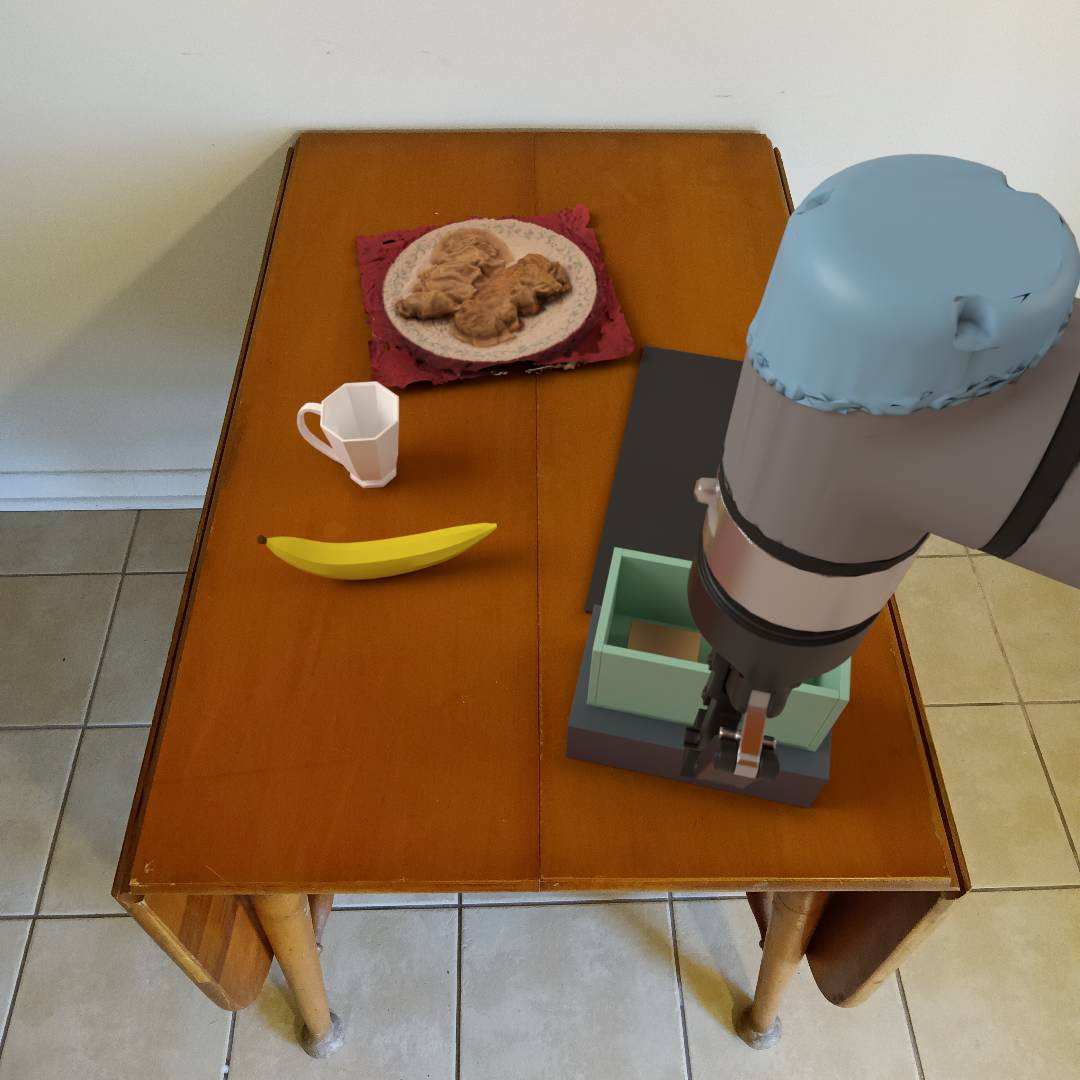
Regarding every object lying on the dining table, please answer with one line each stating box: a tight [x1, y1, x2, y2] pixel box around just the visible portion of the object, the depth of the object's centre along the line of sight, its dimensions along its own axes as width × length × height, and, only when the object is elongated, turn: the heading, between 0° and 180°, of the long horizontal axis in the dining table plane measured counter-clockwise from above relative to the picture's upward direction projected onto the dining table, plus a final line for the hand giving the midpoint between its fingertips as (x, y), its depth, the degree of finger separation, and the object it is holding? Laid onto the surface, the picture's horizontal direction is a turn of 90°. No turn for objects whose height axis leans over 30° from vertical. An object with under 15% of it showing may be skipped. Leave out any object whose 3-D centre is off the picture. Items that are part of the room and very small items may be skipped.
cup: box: [296, 381, 400, 489], centre depth 83 cm, size 7×10×8 cm
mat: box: [584, 345, 744, 614], centre depth 86 cm, size 14×31×1 cm, turn 168°
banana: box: [256, 522, 499, 581], centre depth 78 cm, size 3×19×6 cm, turn 97°
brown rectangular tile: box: [626, 620, 701, 663], centre depth 67 cm, size 5×4×2 cm
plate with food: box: [355, 203, 637, 389], centre depth 97 cm, size 24×26×3 cm
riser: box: [565, 604, 833, 809], centre depth 70 cm, size 18×10×6 cm, turn 77°
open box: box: [587, 547, 852, 752], centre depth 65 cm, size 16×8×8 cm, turn 77°
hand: (704, 768), depth 56 cm, fingers closed
